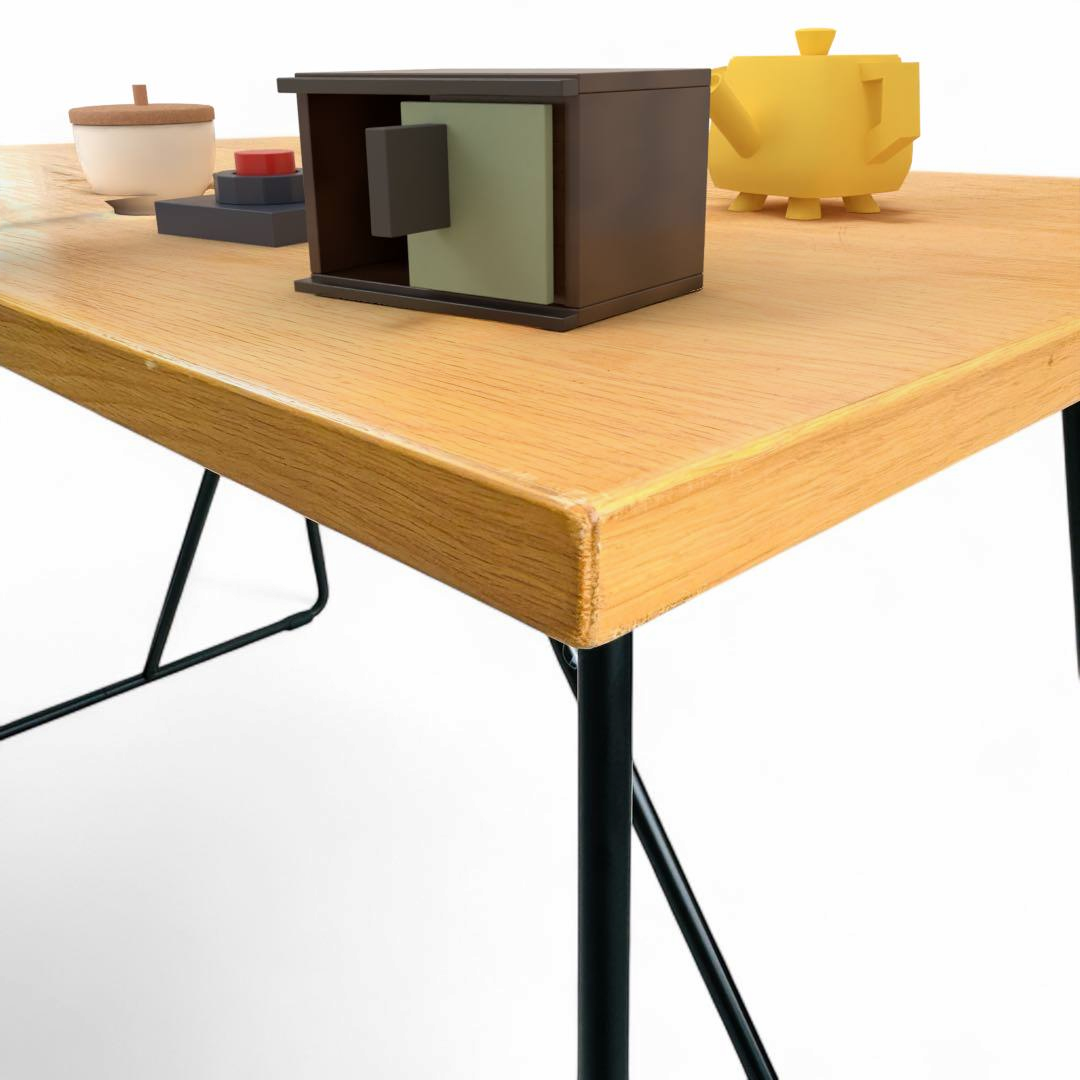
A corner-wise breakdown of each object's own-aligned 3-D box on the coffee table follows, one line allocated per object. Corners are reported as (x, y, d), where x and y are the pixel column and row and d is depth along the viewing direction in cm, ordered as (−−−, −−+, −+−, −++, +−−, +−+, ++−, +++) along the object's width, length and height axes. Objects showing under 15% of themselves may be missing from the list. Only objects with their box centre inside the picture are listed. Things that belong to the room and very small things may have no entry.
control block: (157, 233, 84) (150, 173, 82) (268, 218, 91) (263, 162, 90) (275, 248, 77) (269, 182, 76) (384, 229, 84) (381, 170, 83)
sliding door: (489, 320, 51) (483, 108, 48) (350, 300, 55) (336, 105, 52) (554, 303, 54) (553, 103, 51) (417, 284, 59) (408, 101, 56)
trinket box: (61, 211, 96) (41, 85, 93) (185, 200, 103) (171, 82, 99) (119, 224, 89) (100, 87, 85) (249, 210, 95) (237, 83, 92)
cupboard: (562, 332, 53) (561, 73, 49) (294, 291, 63) (275, 73, 59) (703, 288, 62) (712, 68, 58) (450, 259, 72) (442, 68, 68)
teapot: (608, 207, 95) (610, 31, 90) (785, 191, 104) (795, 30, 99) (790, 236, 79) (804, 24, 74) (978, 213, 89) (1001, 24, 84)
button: (224, 179, 82) (221, 152, 82) (269, 174, 85) (266, 148, 85) (263, 182, 80) (261, 154, 79) (308, 177, 83) (306, 150, 82)
